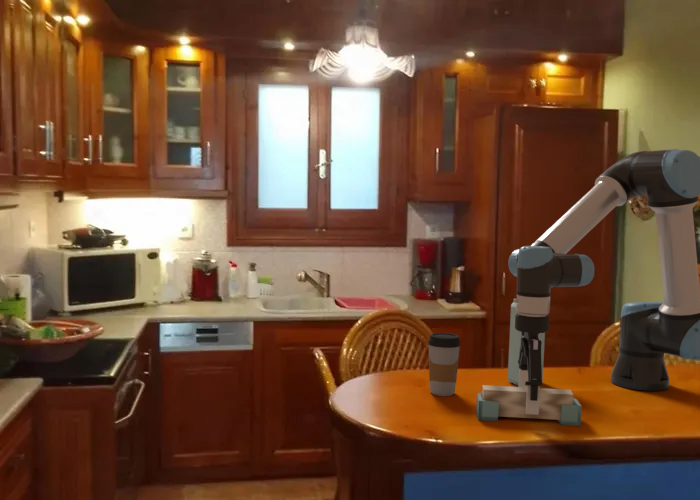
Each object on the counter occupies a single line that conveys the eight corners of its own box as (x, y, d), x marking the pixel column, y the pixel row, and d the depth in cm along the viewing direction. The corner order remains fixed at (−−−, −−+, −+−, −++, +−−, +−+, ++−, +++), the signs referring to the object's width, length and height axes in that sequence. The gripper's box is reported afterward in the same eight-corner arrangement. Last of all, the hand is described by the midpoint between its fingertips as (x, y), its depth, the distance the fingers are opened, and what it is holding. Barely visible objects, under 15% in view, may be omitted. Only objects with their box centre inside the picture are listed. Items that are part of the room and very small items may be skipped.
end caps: (574, 417, 169) (575, 398, 169) (580, 426, 163) (581, 406, 162) (476, 411, 171) (477, 392, 171) (478, 420, 165) (479, 400, 165)
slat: (568, 415, 168) (569, 389, 168) (572, 420, 164) (573, 394, 164) (481, 410, 170) (482, 385, 169) (482, 415, 166) (483, 389, 165)
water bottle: (534, 389, 192) (539, 296, 190) (500, 382, 198) (504, 292, 196) (549, 382, 200) (553, 293, 198) (515, 376, 206) (519, 289, 204)
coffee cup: (457, 398, 182) (460, 339, 181) (424, 395, 184) (426, 337, 182) (459, 389, 190) (461, 333, 189) (427, 387, 192) (429, 331, 190)
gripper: (509, 304, 178) (505, 389, 180) (522, 322, 153) (518, 420, 155) (540, 306, 177) (536, 391, 179) (559, 324, 152) (554, 422, 154)
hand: (527, 405), depth 167 cm, fingers open, 13 cm apart
